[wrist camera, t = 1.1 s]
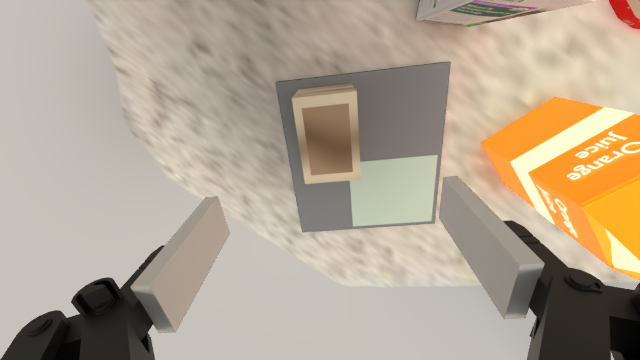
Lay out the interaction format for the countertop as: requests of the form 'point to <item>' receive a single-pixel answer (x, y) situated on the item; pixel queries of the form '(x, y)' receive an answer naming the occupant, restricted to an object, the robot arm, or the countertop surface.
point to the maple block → (328, 133)
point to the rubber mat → (378, 150)
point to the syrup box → (485, 10)
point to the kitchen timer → (627, 11)
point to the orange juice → (578, 174)
